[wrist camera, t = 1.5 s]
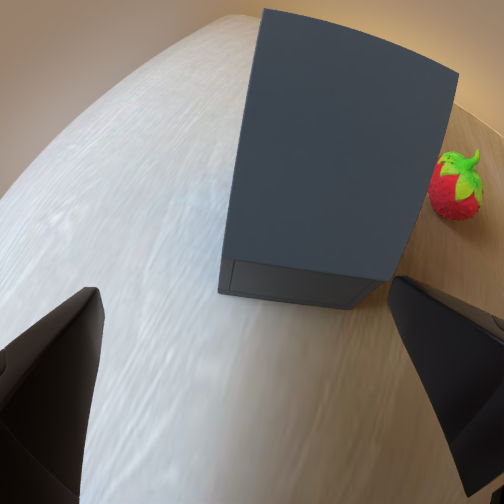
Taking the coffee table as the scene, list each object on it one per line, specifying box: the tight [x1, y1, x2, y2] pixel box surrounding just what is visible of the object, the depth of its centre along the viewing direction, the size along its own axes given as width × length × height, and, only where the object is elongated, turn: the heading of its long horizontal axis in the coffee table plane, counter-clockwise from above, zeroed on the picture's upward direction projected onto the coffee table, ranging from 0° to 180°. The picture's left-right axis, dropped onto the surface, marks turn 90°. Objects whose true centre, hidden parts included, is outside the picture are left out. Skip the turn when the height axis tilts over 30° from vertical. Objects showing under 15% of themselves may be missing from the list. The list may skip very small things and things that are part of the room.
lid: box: [221, 8, 459, 282], centre depth 15 cm, size 13×11×1 cm
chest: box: [218, 257, 384, 310], centre depth 25 cm, size 13×11×6 cm
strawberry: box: [428, 149, 484, 221], centre depth 27 cm, size 6×7×10 cm
